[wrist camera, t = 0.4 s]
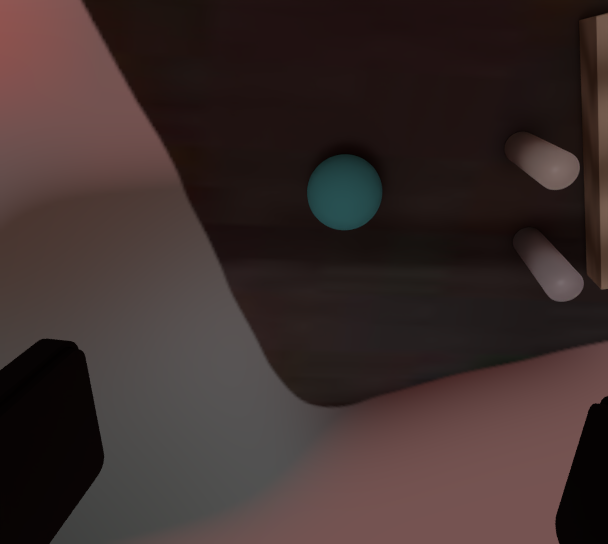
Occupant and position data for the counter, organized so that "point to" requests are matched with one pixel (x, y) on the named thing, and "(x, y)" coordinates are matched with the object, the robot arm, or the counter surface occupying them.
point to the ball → (344, 192)
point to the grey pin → (547, 265)
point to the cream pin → (542, 160)
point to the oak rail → (595, 142)
